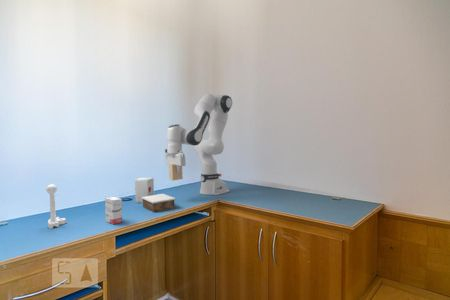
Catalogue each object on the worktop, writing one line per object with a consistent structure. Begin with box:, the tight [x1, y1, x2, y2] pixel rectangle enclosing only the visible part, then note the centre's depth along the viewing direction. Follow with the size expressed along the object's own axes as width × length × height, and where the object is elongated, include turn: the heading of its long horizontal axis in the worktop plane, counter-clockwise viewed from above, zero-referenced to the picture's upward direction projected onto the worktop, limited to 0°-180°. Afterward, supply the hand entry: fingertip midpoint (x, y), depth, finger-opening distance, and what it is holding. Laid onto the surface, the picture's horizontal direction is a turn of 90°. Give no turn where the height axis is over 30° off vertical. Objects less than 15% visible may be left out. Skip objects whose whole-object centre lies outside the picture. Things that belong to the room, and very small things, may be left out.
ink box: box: [104, 196, 123, 225], centre depth 146 cm, size 9×5×12 cm, turn 48°
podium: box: [142, 193, 176, 213], centre depth 172 cm, size 14×16×6 cm
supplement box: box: [134, 177, 155, 204], centre depth 187 cm, size 9×9×15 cm
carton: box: [168, 164, 184, 181], centre depth 185 cm, size 7×4×10 cm, turn 128°
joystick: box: [45, 184, 67, 230], centre depth 142 cm, size 11×8×20 cm
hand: (175, 172), depth 185 cm, fingers closed on carton, 4 cm apart
